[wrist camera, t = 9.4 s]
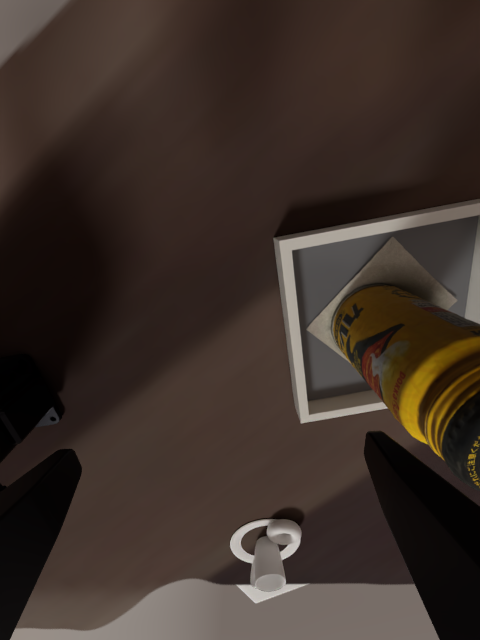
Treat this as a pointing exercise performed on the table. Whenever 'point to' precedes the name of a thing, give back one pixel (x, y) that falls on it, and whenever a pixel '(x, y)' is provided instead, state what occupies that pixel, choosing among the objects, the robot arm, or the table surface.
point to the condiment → (412, 353)
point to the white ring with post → (268, 557)
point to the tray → (341, 267)
